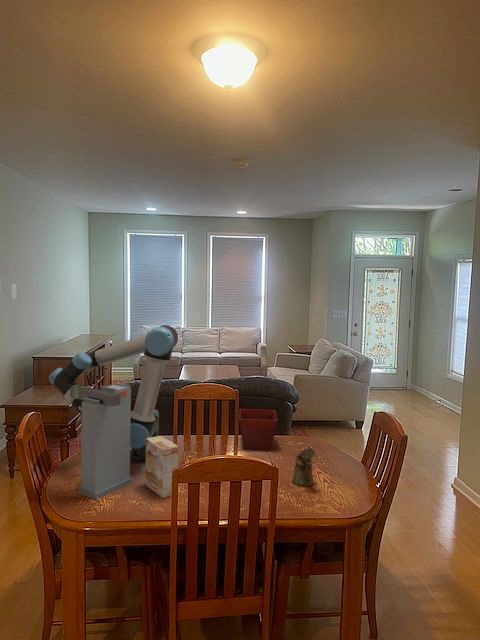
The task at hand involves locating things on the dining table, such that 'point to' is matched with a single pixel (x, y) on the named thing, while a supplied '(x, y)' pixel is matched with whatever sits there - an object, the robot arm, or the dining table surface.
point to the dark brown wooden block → (95, 395)
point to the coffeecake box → (160, 464)
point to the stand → (105, 444)
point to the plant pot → (257, 428)
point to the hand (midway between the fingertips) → (110, 431)
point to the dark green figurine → (303, 468)
